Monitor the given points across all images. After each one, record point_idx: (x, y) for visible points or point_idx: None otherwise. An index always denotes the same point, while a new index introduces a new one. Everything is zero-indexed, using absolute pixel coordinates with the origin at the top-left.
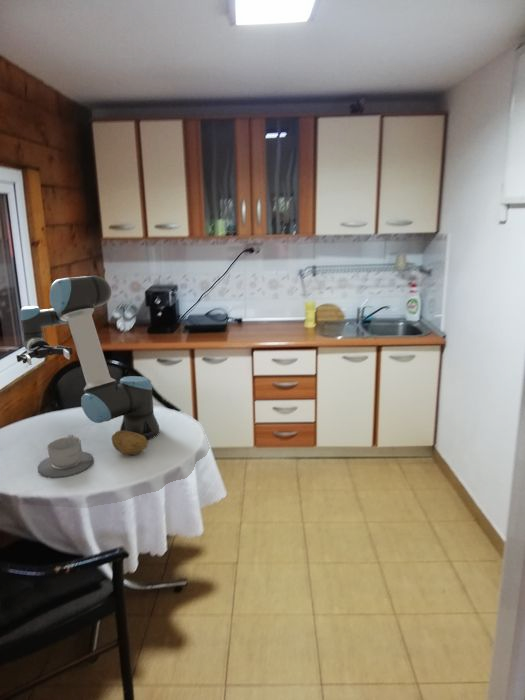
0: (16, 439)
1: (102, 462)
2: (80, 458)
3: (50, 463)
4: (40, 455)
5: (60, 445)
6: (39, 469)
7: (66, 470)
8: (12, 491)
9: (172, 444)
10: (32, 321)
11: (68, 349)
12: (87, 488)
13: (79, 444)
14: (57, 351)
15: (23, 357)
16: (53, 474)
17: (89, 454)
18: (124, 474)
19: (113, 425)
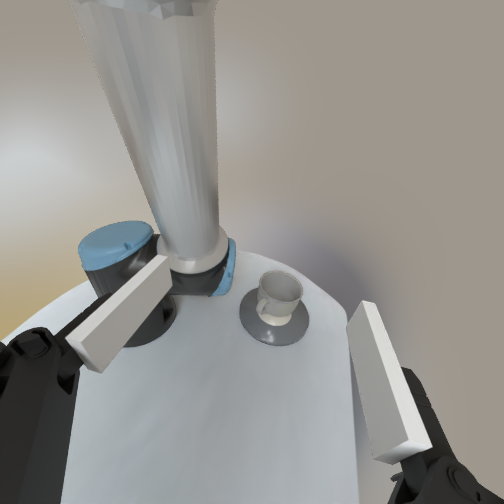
0: None
1: (239, 290)
2: (264, 288)
3: (291, 322)
4: (293, 372)
5: (278, 307)
6: (307, 318)
7: None
8: (339, 305)
9: None
10: None
11: (6, 367)
12: (276, 266)
13: (266, 274)
14: (48, 467)
15: (430, 410)
16: None
17: (241, 307)
18: (239, 262)
19: (115, 394)
